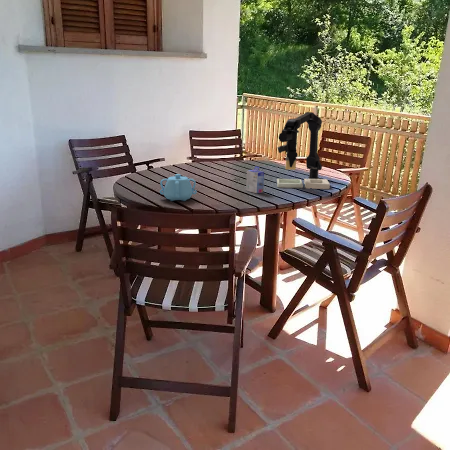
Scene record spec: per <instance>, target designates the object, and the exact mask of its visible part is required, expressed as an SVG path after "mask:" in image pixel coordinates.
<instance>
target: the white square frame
mask: <svg viewBox="0 0 450 450" xmlns="http://www.w3.org/2000/svg"><path fill="white" fill-rule="evenodd" d="M303 184H305V185H304V187H305V189H310V188H312V189H313V190H314V189H316V190H319V189H320V190H330V188H331V184H330V182H329V181H328V179H326V178H325V179H324V178H323V179H322V178H319V179H309V178H304V179H303Z"/></svg>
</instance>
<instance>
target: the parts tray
mask: <svg viewBox="0 0 450 450" xmlns="http://www.w3.org/2000/svg"><path fill="white" fill-rule="evenodd" d="M303 184H304V182H303V181H302V179H299V178H297V179H296V178H277V179H276V185H277V188H279V189H280V188H281V189H282V188H283V189H285V188H286V189H303V188H304V185H303Z"/></svg>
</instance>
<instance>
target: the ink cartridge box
mask: <svg viewBox="0 0 450 450" xmlns="http://www.w3.org/2000/svg"><path fill="white" fill-rule="evenodd" d="M260 168H261V167H260V166H257V165H256V166H255V167H254V168H253V169H249V170H246V186H245V191H247V192H250V193H254V194H262V193H264V185H265V183H264V182H265V180H264V179H265V171H262V170H260Z"/></svg>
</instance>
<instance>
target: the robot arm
mask: <svg viewBox="0 0 450 450" xmlns="http://www.w3.org/2000/svg"><path fill="white" fill-rule="evenodd" d="M305 123H307V128H308V130H309V132H310V134H309V137H310V138H309V154H308V156H306V158H305V159H306V161H305V164H306V169H307V170H309V175H308V177H307V179H320V178H319V171H322V170H323V165H322V163H321V161H320V159H321V158H320V156H319V154H318V150H319V149H318V145H319V132H320V129H321V128H322V124H323V121H322V118H320V116H318V115H316V114H315V113H314V112H312V111H306V112H304V113H303V114H301V115H300V116H298V117H295V118H288V119H287V120H286V122H285V124H284V127H283V129H282V130H281V132H280V133H279V135H278V140H279V141H280V142H281V143H285V144H283V145H279V146H277V151H278V154H282V152H285V155H286V157H288V158H289V164H290V167H292V165H293V163H294V161H295V159H296V160H297V158H298V151H297V145H298V142H297V141H298V133H300V131H299V129H300V128H301V125H302V124H305Z"/></svg>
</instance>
